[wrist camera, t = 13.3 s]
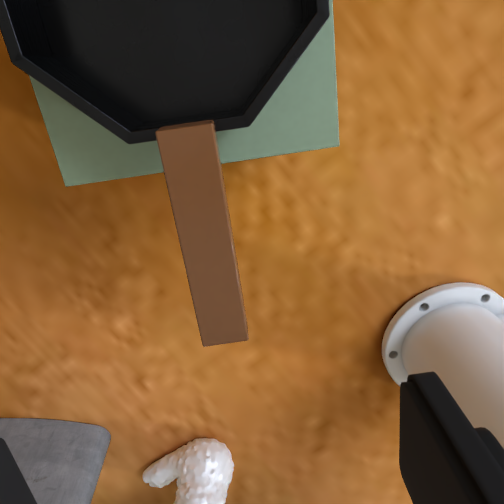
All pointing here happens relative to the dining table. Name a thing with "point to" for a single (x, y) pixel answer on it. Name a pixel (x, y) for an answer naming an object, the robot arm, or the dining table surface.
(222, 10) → the pan
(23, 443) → the hip flask
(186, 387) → the dining table surface
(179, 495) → the sitting furry creature
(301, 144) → the sage green box
